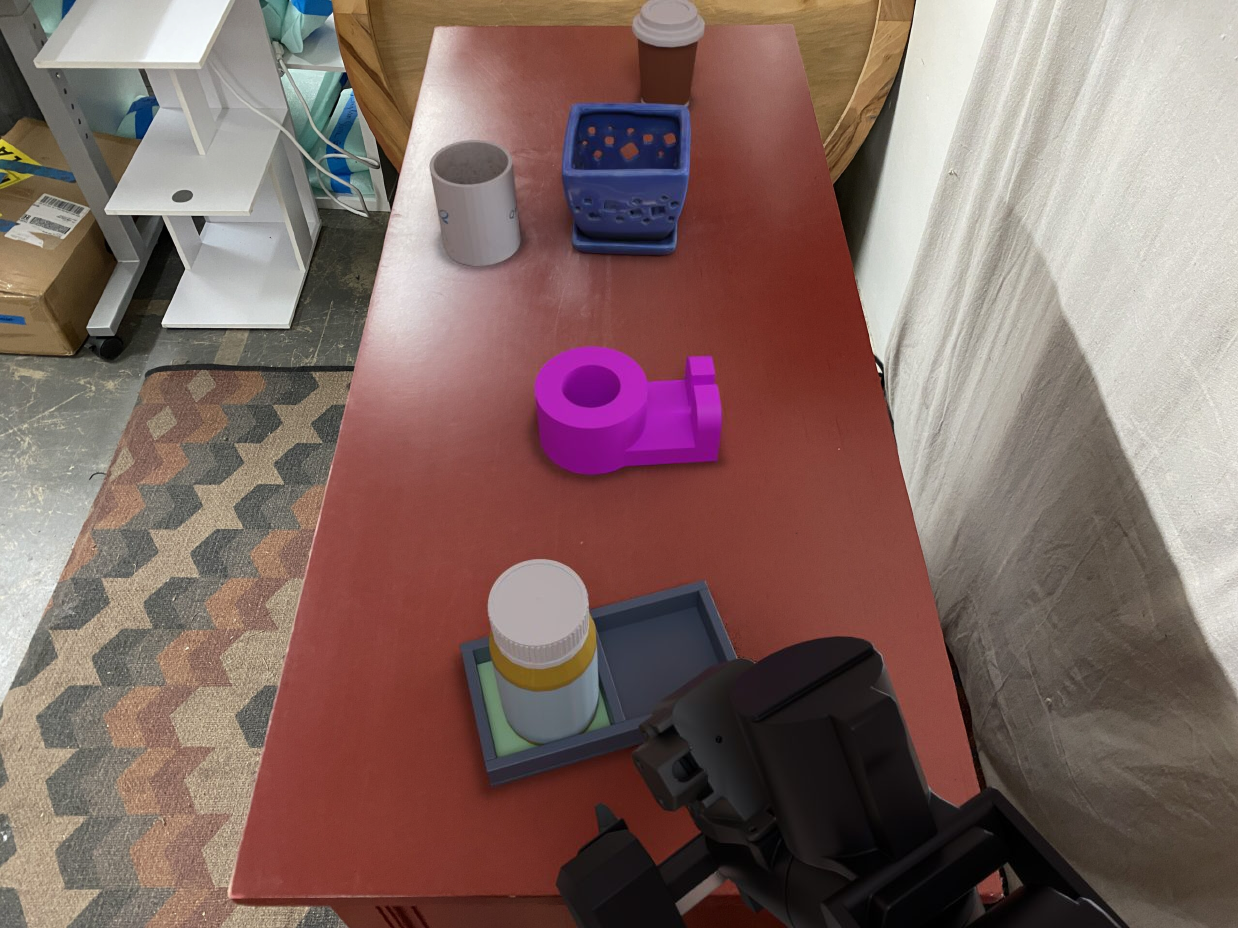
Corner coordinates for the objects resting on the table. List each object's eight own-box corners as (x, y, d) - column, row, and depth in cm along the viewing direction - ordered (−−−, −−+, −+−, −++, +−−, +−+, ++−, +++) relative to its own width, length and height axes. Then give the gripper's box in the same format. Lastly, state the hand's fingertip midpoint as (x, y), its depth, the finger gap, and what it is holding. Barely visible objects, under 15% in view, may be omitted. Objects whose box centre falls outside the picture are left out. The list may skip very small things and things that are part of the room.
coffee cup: (713, 99, 122) (721, 8, 113) (670, 127, 118) (674, 35, 108) (660, 76, 126) (664, -14, 116) (616, 102, 121) (616, 11, 112)
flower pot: (685, 268, 100) (692, 173, 91) (564, 266, 100) (558, 170, 91) (684, 196, 108) (690, 102, 99) (572, 194, 109) (568, 99, 99)
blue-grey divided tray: (748, 712, 68) (753, 695, 66) (491, 787, 64) (486, 772, 62) (701, 598, 74) (704, 579, 72) (464, 661, 70) (459, 643, 68)
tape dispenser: (540, 477, 82) (535, 431, 77) (538, 396, 88) (533, 349, 83) (718, 467, 83) (724, 421, 78) (703, 388, 89) (708, 340, 84)
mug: (514, 267, 100) (505, 189, 92) (436, 264, 100) (421, 185, 93) (529, 200, 108) (522, 122, 100) (457, 197, 108) (445, 119, 100)
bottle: (485, 699, 68) (457, 595, 56) (559, 644, 71) (547, 534, 59) (543, 770, 64) (526, 675, 53) (618, 708, 67) (618, 606, 56)
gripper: (931, 592, 39) (738, 557, 54) (570, 857, 33) (459, 736, 47) (1016, 805, 42) (809, 716, 56) (694, 1095, 35) (551, 910, 49)
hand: (667, 762), depth 52 cm, fingers open, 9 cm apart
